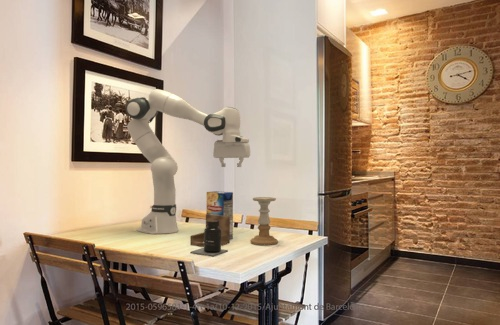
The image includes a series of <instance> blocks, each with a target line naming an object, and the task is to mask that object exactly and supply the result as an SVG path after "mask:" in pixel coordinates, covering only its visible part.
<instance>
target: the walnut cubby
mask: <svg viewBox="0 0 500 325" xmlns="http://www.w3.org/2000/svg"><path fill="white" fill-rule="evenodd" d="M208 220H218V221H219V228H221V247H222V246H225V245H228V244H230V240H231V239H230V216H222V215H210V214H205V228H206V227H207V221H208ZM189 240H190V246H195V247H201V248H204V232H200V233H196V234H191V235H190V239H189Z"/></svg>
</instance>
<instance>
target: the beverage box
mask: <svg viewBox="0 0 500 325" xmlns="http://www.w3.org/2000/svg"><path fill="white" fill-rule="evenodd" d="M205 212H206V214H210V215H222V216H230V240H232V239H233V238H234V237H233V236H234V235H233V232H234V227H233V226H234V222H233V221H234V192H233V191H218V190H217V191H206V211H205ZM206 214H205V215H206Z"/></svg>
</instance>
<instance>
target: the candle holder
mask: <svg viewBox="0 0 500 325" xmlns="http://www.w3.org/2000/svg"><path fill="white" fill-rule="evenodd" d="M252 200H253V201H254V202H257V203H258V205H259V206H260V207H259V208H260V209H258V212H259V217H258V221H257V223H258V226H257V229H258V235H255V236H254V237H252V238H251V239H250V243H251V244H252V245H255V246H273V245H277V244H279V243H278V239H277V238H275V237H274V236H273V235H271V234H270V229H271V226H270V224H271V219H270V216H269V213H270V209H269V205H270V204H271V202H275V201H276V200H277V198H276V197H272V196H271V197H270V196H258V197H257V196H256V197H253V198H252Z"/></svg>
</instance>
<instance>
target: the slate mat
mask: <svg viewBox="0 0 500 325" xmlns="http://www.w3.org/2000/svg"><path fill="white" fill-rule="evenodd" d="M225 253H228V249H223V248H221V251H220V252H217V253H208V252H205V251H204V247H201V248H198V249H195V250H192V251H190V254H193V255H199V256H207V257H217V256H220V255H222V254H225Z"/></svg>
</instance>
